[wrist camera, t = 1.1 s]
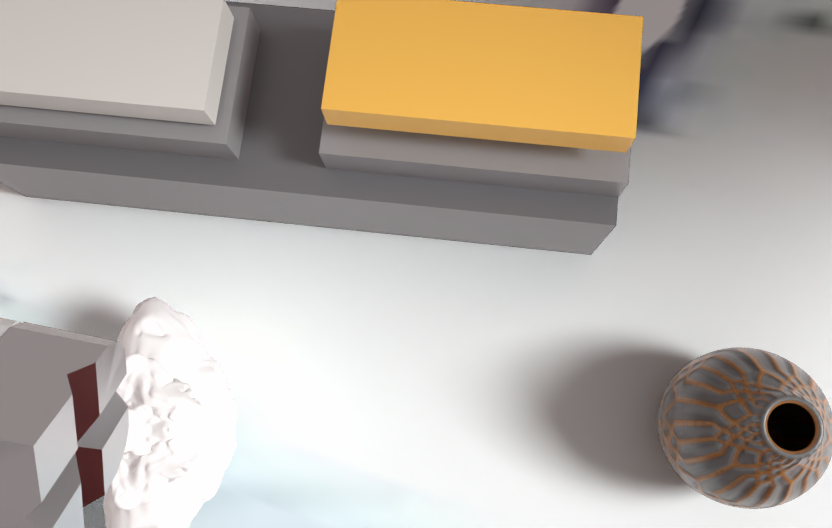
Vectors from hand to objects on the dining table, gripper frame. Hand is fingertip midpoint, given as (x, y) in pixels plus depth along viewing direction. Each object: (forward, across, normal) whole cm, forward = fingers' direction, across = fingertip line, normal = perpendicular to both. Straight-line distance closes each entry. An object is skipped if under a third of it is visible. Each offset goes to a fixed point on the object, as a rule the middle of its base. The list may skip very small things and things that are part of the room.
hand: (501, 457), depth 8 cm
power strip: (+32, +8, +11) cm, 35 cm away
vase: (+24, -14, +18) cm, 33 cm away
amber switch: (+25, 0, +4) cm, 25 cm away
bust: (+22, +11, +23) cm, 34 cm away
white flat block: (+26, +17, +6) cm, 32 cm away
